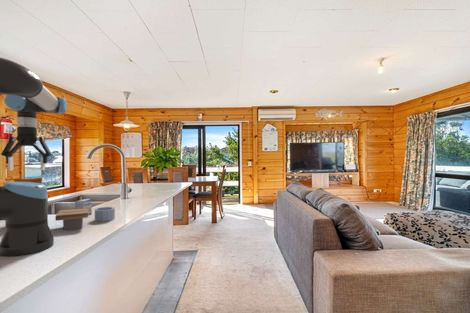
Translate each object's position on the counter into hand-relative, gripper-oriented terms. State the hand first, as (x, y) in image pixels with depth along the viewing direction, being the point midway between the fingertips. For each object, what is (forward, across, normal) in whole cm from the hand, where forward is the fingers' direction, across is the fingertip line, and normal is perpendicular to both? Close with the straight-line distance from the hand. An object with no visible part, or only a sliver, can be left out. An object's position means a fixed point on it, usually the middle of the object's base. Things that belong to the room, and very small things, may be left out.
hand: (27, 170), depth 126 cm
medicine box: (+26, -22, -9) cm, 35 cm away
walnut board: (+21, -25, +14) cm, 35 cm away
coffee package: (+26, -2, +3) cm, 26 cm away
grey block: (+26, -25, +14) cm, 38 cm away
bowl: (+26, -35, +2) cm, 44 cm away
